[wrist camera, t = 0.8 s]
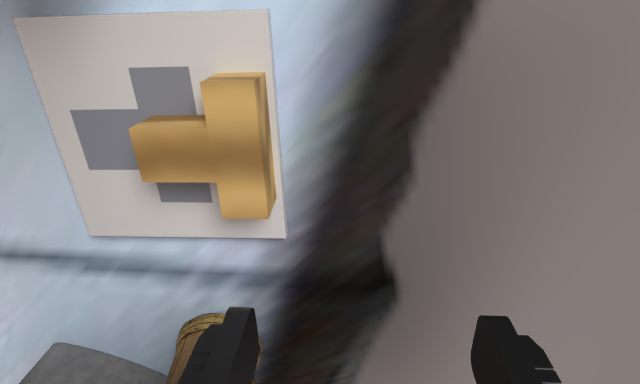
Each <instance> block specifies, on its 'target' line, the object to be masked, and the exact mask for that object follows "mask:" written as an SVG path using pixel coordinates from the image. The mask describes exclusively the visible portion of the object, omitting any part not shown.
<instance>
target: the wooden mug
mask: <svg viewBox="0 0 640 384" xmlns="http://www.w3.org/2000/svg"><path fill="white" fill-rule="evenodd" d="M224 318H225V315H223V314H212V313H210V314H204V315H201V316H198V317H196V318H194V319H192V320H190V321H188V322H186V323H185V324H184V326H183V327H182V329H181V330H180V333H179V337H178V341H177V345H176V354H175V357H174V360H173V363H172V366H171V369H170V372H169V375H168V378H167V381H166V384H178V381H179V379H180V377H181V375H182V373H183V370H184V368H186V364H187V362H188V359H189V357H190V355H192V351H193V348H194V346H195V344H196V342H197V340H198V337H199V336H200V335H201V334H202V333H203V332H204V331H205V330H206V329H207V328H208V327H209V326H210V325H211V324H222V323H223V320H224ZM258 338H259V337H258ZM262 351H263V348H262V343H261V341H260V339H259V357H258V362H257V366H258V363H259V361H260V358H261V355H262ZM256 368H257V367H256ZM252 384H257V383H256V381H255V379H254V378H253V382H252Z"/></svg>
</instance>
